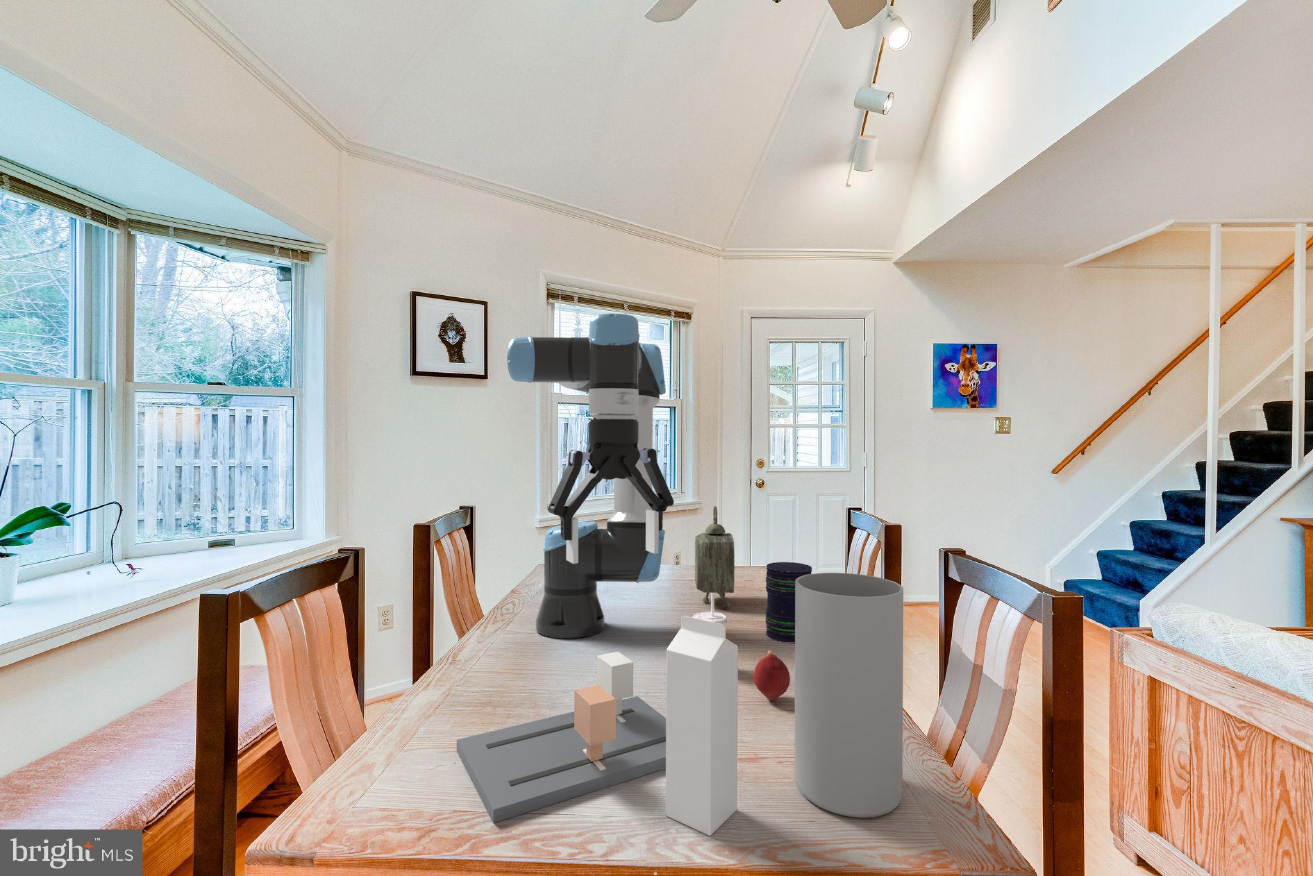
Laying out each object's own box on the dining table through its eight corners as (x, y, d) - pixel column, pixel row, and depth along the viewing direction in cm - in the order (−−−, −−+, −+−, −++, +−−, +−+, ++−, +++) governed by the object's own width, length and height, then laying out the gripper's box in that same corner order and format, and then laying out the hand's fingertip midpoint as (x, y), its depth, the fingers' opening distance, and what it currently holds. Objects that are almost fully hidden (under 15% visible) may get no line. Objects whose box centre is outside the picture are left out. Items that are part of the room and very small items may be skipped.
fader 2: (596, 708, 92) (596, 655, 92) (617, 703, 94) (617, 651, 94) (611, 722, 88) (611, 666, 88) (632, 716, 89) (633, 662, 89)
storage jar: (760, 639, 129) (761, 569, 129) (770, 626, 139) (770, 560, 139) (808, 645, 126) (809, 573, 126) (815, 631, 135) (815, 564, 135)
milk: (694, 792, 74) (695, 609, 74) (738, 810, 70) (739, 618, 70) (664, 817, 69) (665, 620, 69) (710, 838, 65) (711, 631, 65)
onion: (791, 695, 101) (791, 647, 101) (787, 710, 96) (787, 659, 96) (756, 690, 103) (756, 643, 103) (750, 704, 98) (750, 654, 98)
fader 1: (574, 752, 79) (574, 690, 79) (598, 745, 81) (598, 684, 81) (590, 770, 75) (590, 705, 75) (615, 762, 77) (615, 699, 77)
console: (456, 750, 83) (456, 738, 83) (637, 705, 97) (637, 695, 97) (493, 823, 67) (493, 808, 67) (702, 756, 82) (702, 744, 82)
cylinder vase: (846, 834, 66) (847, 602, 66) (773, 776, 77) (774, 578, 77) (925, 802, 72) (926, 589, 72) (847, 753, 83) (848, 569, 83)
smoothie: (725, 676, 109) (725, 598, 109) (689, 673, 110) (689, 596, 110) (728, 663, 115) (728, 589, 115) (694, 661, 117) (694, 587, 117)
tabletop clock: (734, 611, 150) (734, 509, 150) (697, 611, 150) (697, 509, 150) (728, 596, 165) (728, 503, 165) (694, 595, 165) (695, 503, 165)
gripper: (543, 417, 83) (544, 572, 84) (695, 418, 96) (694, 552, 97) (526, 417, 90) (526, 560, 90) (670, 417, 102) (670, 543, 103)
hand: (613, 556), depth 94 cm, fingers open, 13 cm apart
